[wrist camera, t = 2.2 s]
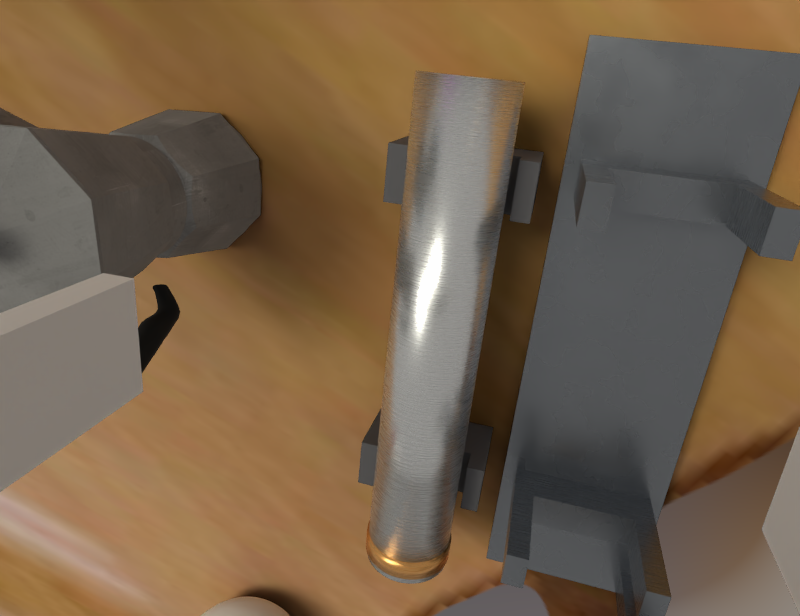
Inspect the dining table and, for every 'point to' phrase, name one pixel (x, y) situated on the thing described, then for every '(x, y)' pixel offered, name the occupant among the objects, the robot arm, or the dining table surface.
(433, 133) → the tube
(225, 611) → the ornament
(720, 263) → the grey tube stand
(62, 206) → the coffeepot
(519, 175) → the rest chocks
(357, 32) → the dining table surface
